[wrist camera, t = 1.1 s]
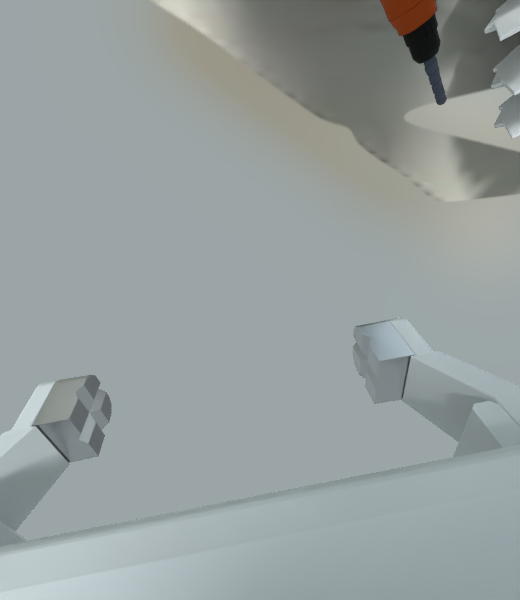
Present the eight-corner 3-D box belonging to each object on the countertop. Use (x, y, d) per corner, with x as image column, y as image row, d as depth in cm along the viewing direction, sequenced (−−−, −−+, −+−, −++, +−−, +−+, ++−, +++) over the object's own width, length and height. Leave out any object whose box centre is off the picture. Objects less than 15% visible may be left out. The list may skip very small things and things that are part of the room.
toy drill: (384, 95, 43) (430, 126, 32) (314, -74, 33) (348, -112, 22) (420, 69, 42) (482, 92, 31) (358, -120, 31) (418, -187, 20)
